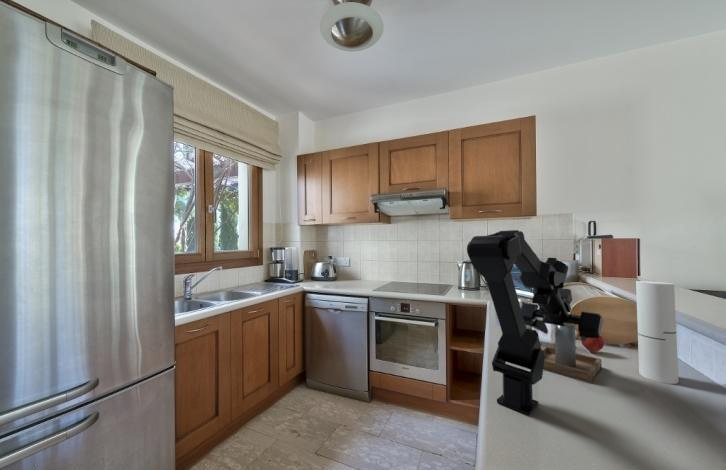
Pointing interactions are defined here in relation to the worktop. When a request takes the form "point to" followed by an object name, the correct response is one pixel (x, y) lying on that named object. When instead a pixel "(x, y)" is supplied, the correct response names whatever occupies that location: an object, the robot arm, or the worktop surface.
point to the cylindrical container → (657, 331)
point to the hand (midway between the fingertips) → (565, 336)
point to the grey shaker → (565, 345)
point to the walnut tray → (583, 371)
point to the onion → (593, 344)
